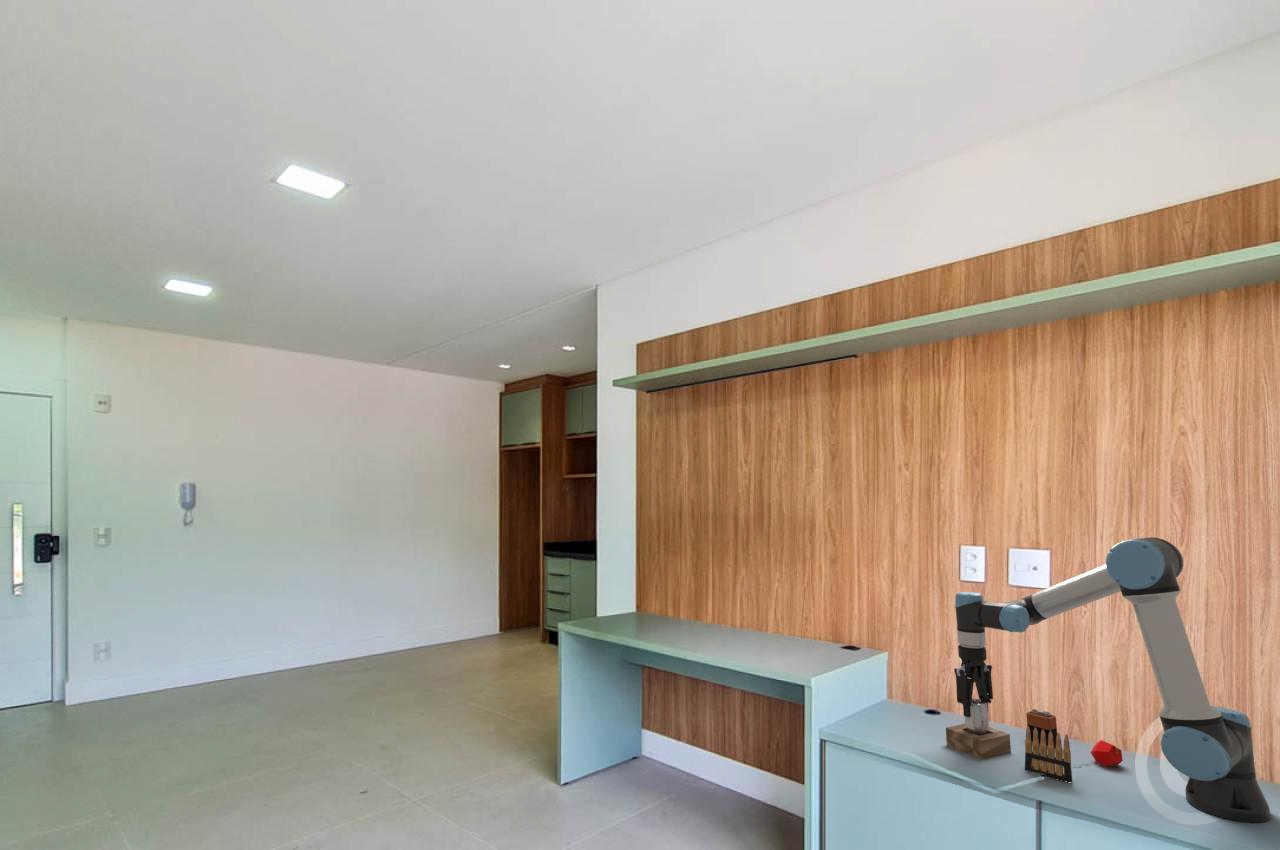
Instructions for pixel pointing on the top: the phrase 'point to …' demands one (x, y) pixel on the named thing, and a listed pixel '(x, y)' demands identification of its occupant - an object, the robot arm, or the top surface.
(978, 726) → the silver metal cylinder
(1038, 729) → the battery
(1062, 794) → the top surface
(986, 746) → the box
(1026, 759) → the ammunition clip
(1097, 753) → the apple
